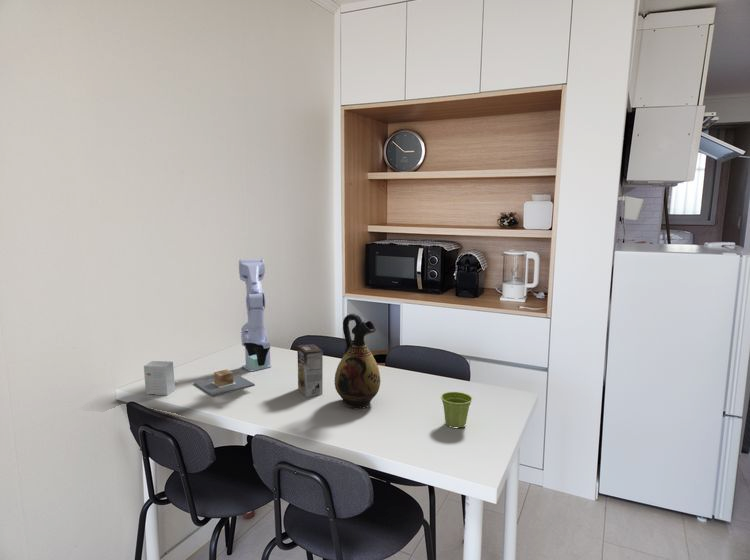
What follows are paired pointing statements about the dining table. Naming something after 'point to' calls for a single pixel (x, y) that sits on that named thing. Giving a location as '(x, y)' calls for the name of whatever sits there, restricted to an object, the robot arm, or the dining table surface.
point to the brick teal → (255, 363)
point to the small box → (159, 377)
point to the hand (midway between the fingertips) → (257, 363)
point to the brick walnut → (223, 377)
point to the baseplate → (216, 390)
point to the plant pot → (456, 408)
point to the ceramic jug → (357, 366)
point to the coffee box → (310, 370)
